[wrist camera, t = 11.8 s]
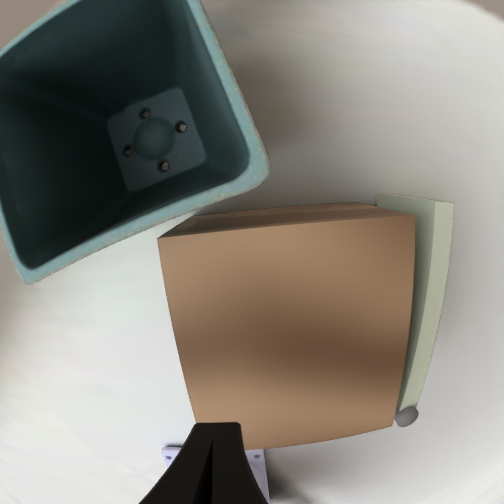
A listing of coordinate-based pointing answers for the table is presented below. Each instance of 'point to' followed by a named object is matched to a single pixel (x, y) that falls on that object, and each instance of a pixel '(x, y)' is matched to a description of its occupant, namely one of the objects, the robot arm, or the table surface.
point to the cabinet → (292, 318)
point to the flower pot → (116, 128)
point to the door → (422, 291)
